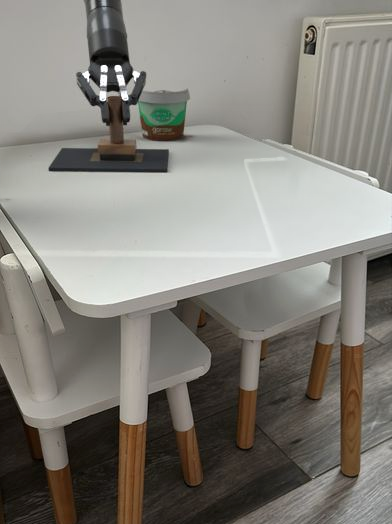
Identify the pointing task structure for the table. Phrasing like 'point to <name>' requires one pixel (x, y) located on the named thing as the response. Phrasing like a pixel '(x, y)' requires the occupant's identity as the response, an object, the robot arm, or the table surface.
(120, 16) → the robot arm
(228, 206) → the table surface
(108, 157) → the brush
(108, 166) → the mat
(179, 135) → the food container
